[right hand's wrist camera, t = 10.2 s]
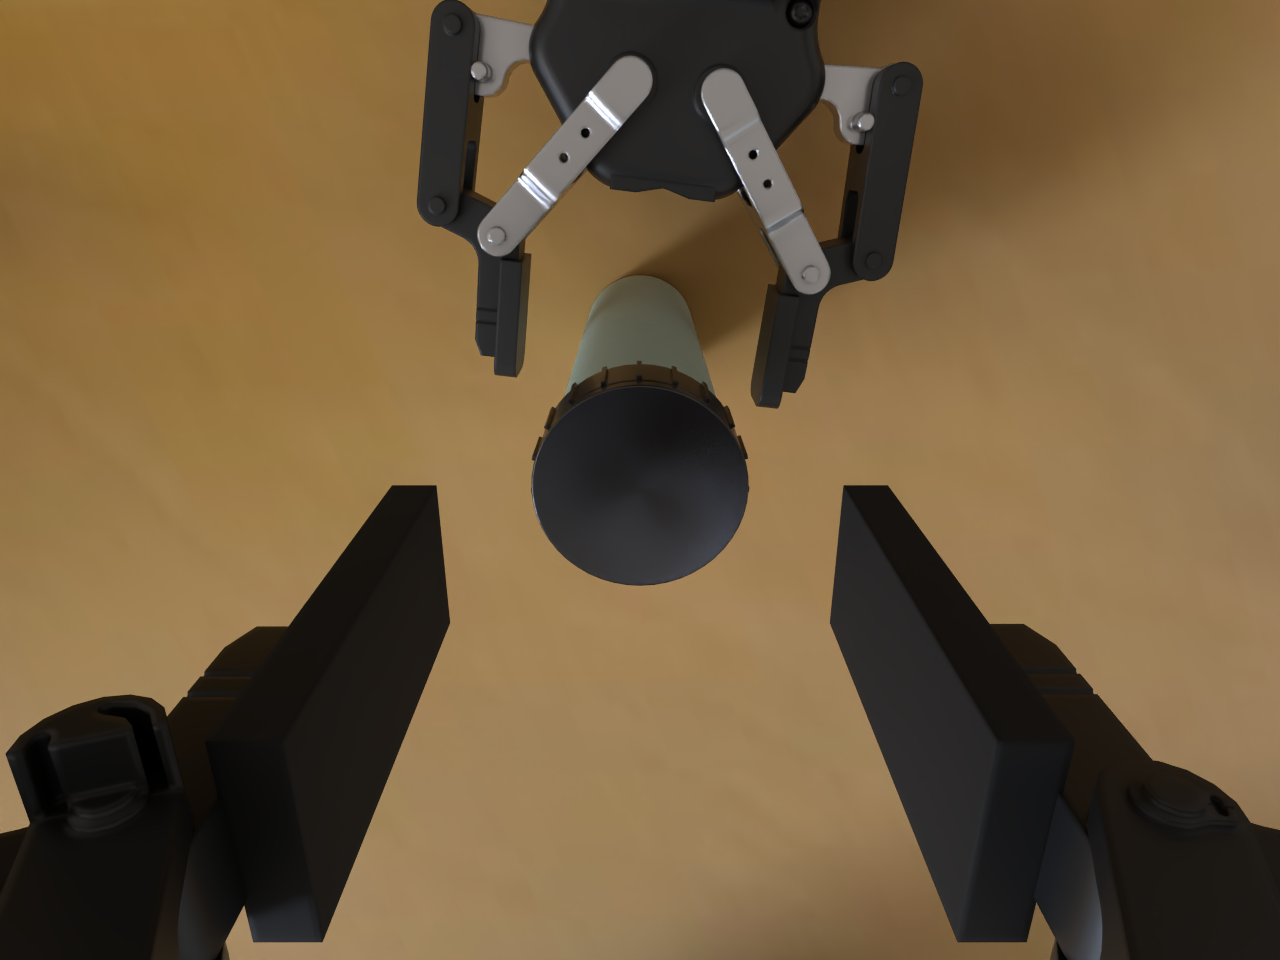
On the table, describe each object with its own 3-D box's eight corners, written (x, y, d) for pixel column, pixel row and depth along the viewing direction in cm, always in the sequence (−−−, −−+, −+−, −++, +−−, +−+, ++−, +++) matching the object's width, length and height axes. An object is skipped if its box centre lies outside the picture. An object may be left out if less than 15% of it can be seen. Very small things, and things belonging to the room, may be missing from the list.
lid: (531, 360, 18) (520, 382, 16) (746, 358, 18) (757, 380, 16) (543, 551, 20) (533, 589, 18) (738, 550, 20) (747, 587, 18)
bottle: (586, 275, 32) (538, 389, 17) (692, 274, 32) (740, 387, 17) (589, 379, 34) (547, 569, 18) (691, 378, 34) (733, 568, 18)
